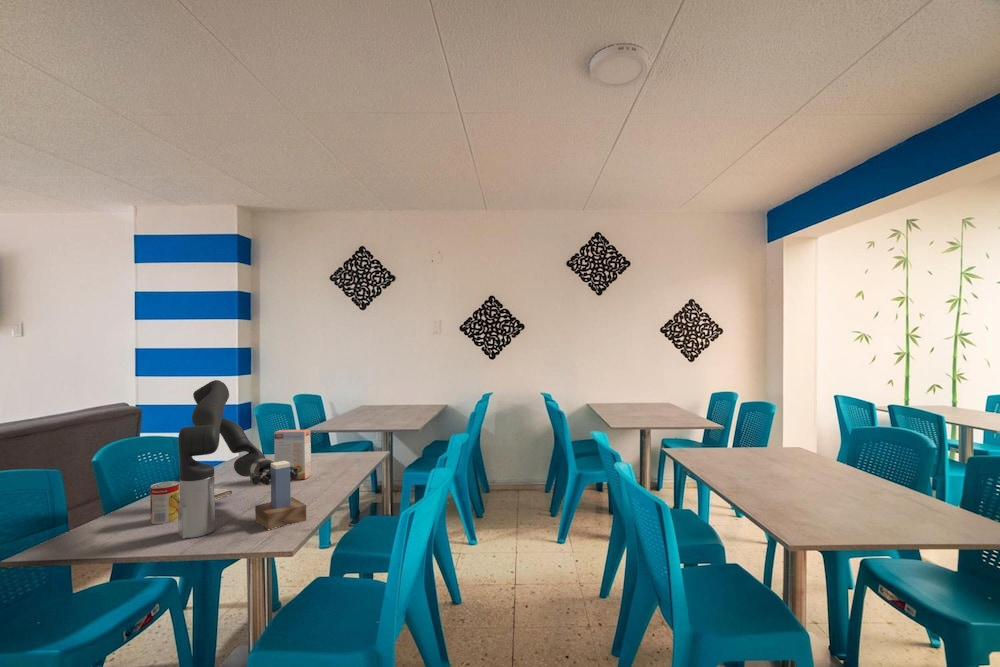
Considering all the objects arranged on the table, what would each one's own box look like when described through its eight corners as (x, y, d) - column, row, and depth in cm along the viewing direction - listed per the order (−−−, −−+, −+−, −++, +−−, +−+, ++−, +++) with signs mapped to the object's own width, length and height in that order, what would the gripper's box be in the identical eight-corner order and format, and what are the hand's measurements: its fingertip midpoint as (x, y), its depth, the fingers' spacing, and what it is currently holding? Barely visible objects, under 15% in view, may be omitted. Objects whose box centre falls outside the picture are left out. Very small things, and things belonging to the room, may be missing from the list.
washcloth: (166, 507, 176) (166, 499, 176) (211, 492, 192) (211, 485, 192) (189, 511, 171) (189, 502, 171) (233, 495, 188) (233, 487, 188)
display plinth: (268, 530, 151) (268, 514, 151) (255, 520, 159) (255, 505, 159) (306, 520, 159) (306, 504, 159) (292, 511, 168) (291, 497, 168)
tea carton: (276, 508, 156) (275, 465, 156) (271, 505, 159) (270, 463, 160) (290, 505, 159) (290, 462, 160) (285, 502, 163) (284, 460, 163)
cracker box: (311, 476, 212) (311, 429, 213) (304, 480, 206) (304, 431, 207) (281, 475, 214) (281, 429, 214) (274, 479, 208) (273, 431, 208)
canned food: (181, 514, 167) (181, 479, 167) (175, 522, 159) (175, 486, 160) (154, 517, 164) (154, 482, 164) (147, 525, 156) (147, 489, 157)
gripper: (243, 463, 165) (259, 472, 153) (285, 456, 175) (303, 463, 163) (243, 485, 165) (259, 495, 153) (285, 476, 175) (303, 485, 163)
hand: (282, 479), depth 158 cm, fingers open, 8 cm apart
